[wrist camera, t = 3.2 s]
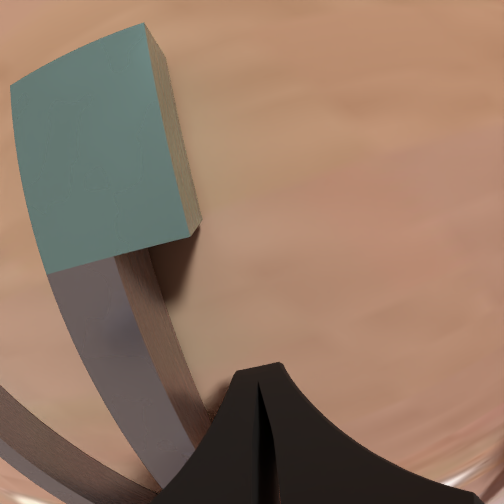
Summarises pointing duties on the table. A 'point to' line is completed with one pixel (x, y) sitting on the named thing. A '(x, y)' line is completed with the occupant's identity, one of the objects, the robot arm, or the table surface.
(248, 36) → the table surface
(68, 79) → the tong free arm
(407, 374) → the table surface
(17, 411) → the tong fixed arm
